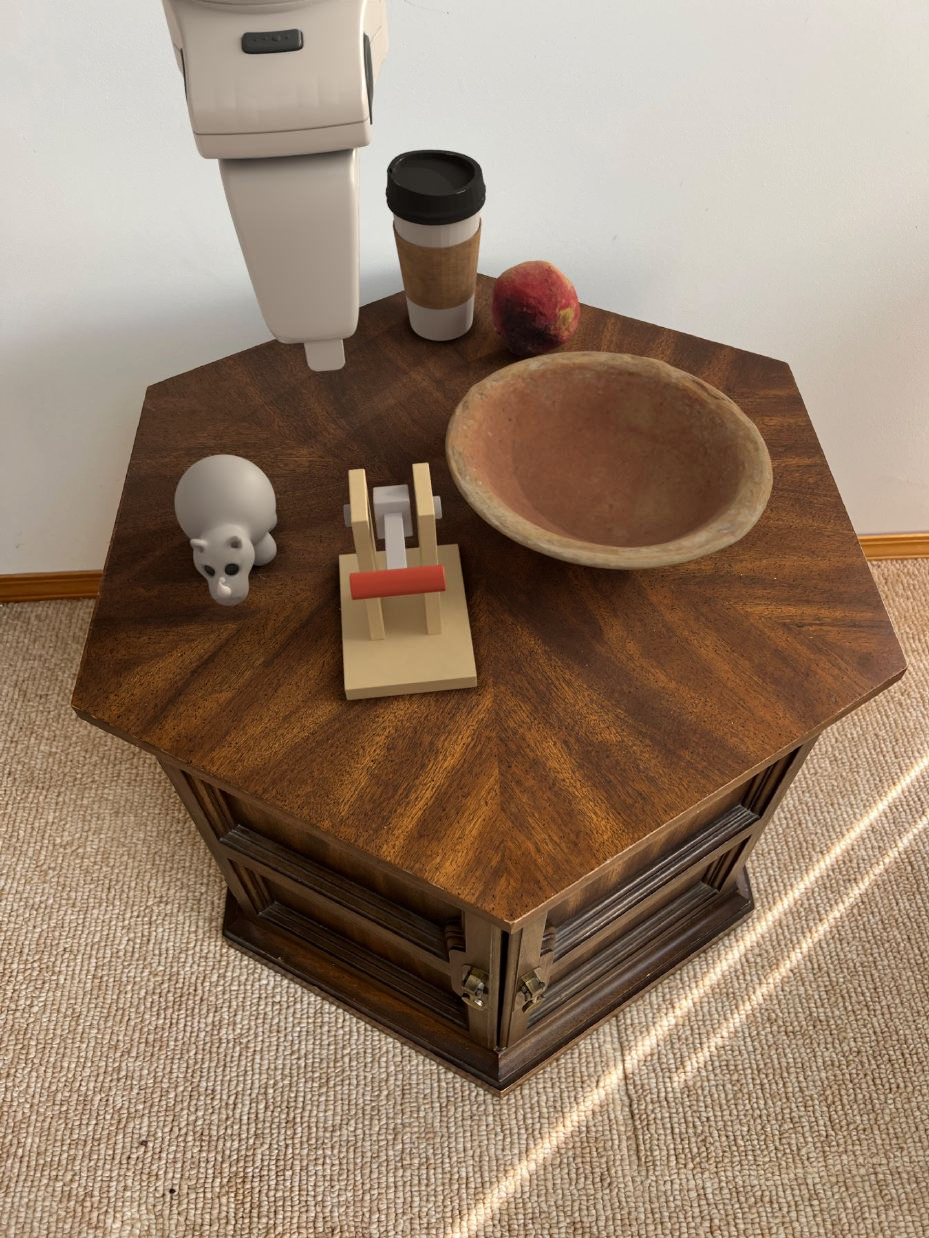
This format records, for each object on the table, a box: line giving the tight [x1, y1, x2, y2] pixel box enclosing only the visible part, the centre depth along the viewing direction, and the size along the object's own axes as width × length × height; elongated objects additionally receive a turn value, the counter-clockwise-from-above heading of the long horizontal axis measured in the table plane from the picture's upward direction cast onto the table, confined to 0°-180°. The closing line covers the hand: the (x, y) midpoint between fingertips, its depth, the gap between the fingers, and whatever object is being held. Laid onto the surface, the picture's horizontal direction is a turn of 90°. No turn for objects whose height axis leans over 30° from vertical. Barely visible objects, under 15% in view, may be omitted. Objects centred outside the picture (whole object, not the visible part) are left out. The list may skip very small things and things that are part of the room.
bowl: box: [444, 350, 774, 571], centre depth 71 cm, size 24×24×8 cm
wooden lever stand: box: [338, 462, 478, 701], centre depth 63 cm, size 12×9×14 cm
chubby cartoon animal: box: [174, 454, 278, 607], centre depth 68 cm, size 7×12×8 cm, turn 5°
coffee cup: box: [384, 149, 487, 342], centre depth 83 cm, size 8×8×15 cm
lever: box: [349, 484, 446, 600], centre depth 55 cm, size 12×5×2 cm, turn 6°
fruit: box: [491, 259, 581, 357], centre depth 84 cm, size 8×8×8 cm
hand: (323, 304), depth 49 cm, fingers open, 8 cm apart
